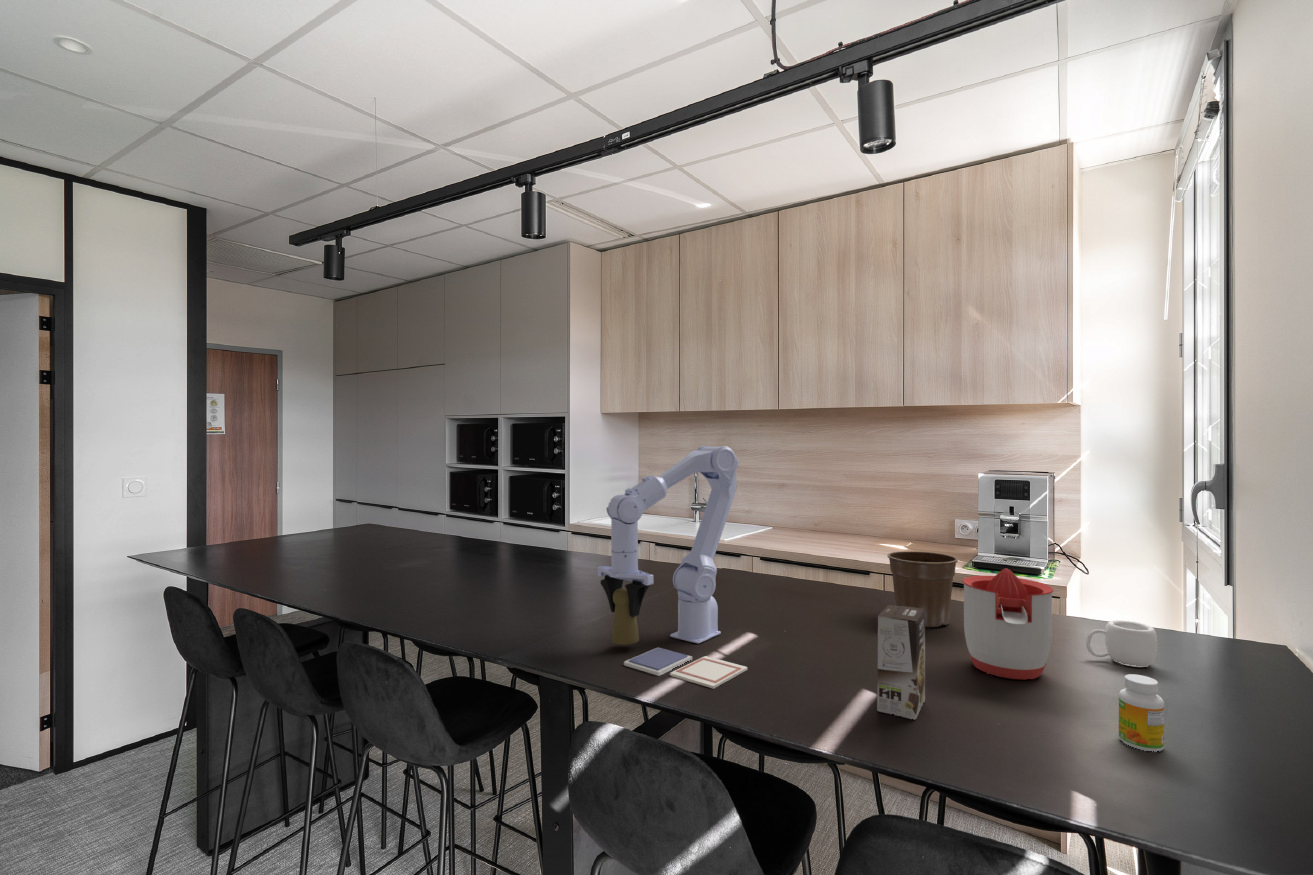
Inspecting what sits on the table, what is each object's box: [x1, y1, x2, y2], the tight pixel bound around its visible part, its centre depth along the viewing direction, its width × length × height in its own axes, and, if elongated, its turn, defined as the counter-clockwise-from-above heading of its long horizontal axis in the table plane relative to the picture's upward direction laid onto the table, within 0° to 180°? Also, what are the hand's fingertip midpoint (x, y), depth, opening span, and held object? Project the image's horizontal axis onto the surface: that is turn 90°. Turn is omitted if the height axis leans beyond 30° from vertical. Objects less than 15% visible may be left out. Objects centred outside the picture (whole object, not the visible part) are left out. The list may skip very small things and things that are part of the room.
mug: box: [1085, 619, 1158, 666], centre depth 127 cm, size 12×8×8 cm
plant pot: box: [886, 550, 959, 628], centre depth 156 cm, size 16×16×16 cm
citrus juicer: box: [962, 568, 1054, 680], centre depth 122 cm, size 16×17×20 cm
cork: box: [610, 587, 640, 645], centre depth 135 cm, size 6×6×11 cm
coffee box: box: [876, 604, 926, 720], centre depth 106 cm, size 9×6×16 cm
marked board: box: [669, 655, 748, 690], centre depth 121 cm, size 12×10×1 cm
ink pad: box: [623, 647, 693, 677], centre depth 127 cm, size 11×9×1 cm
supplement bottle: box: [1118, 673, 1165, 753], centre depth 93 cm, size 5×5×10 cm
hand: (624, 613), depth 135 cm, fingers closed on cork, 5 cm apart
